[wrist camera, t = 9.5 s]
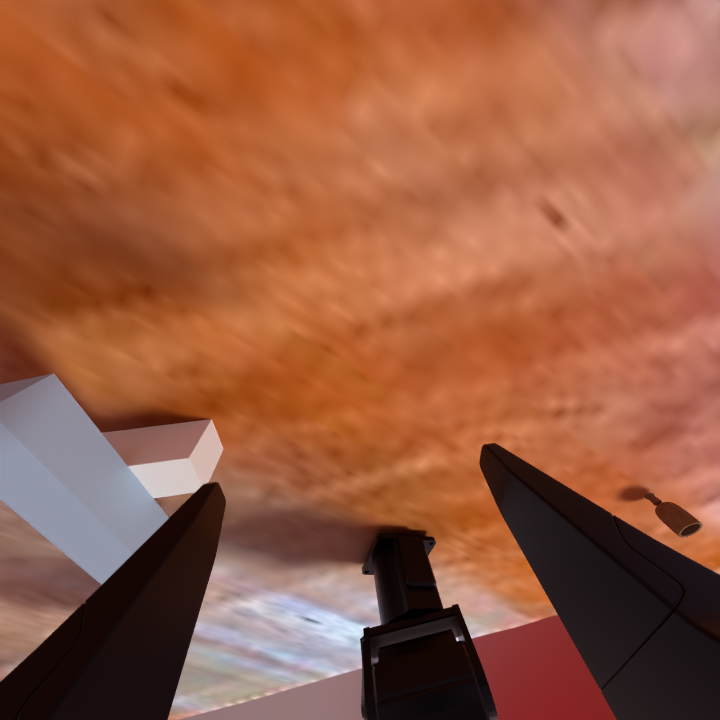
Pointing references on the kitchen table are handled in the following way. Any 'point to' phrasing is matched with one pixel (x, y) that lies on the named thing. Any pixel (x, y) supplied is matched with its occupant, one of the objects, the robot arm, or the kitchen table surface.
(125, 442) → the fulcrum
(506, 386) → the kitchen table surface
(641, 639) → the robot arm
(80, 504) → the bar
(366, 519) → the kitchen table surface
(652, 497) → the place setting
